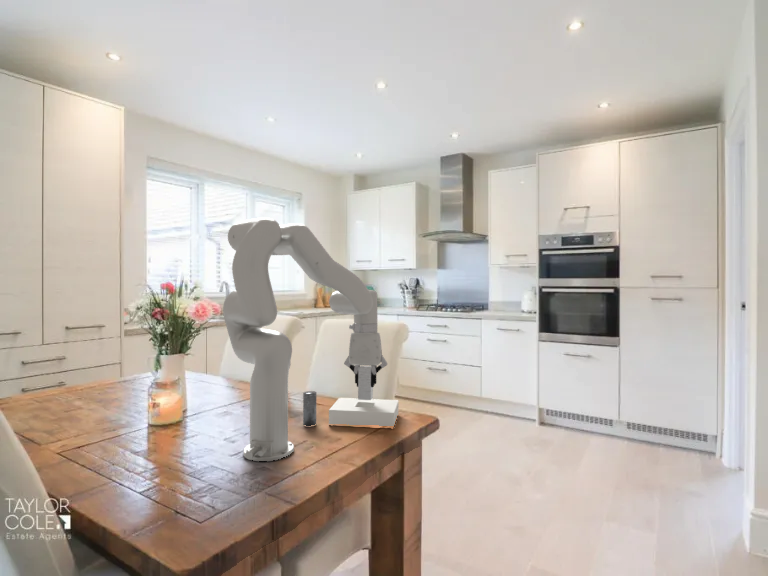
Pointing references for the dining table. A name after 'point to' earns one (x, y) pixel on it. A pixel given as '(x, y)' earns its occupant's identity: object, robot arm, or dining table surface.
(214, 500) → the dining table surface
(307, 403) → the round peg
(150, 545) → the dining table surface
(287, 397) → the robot arm
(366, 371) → the square peg
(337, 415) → the block
